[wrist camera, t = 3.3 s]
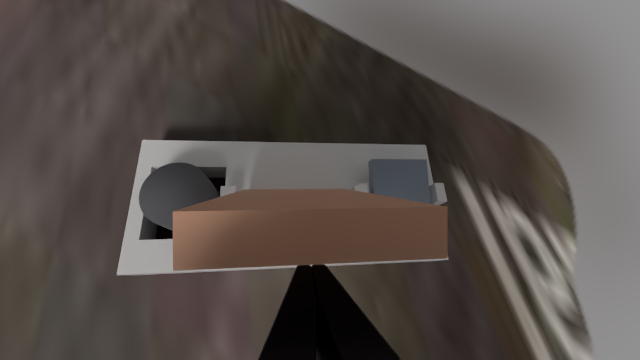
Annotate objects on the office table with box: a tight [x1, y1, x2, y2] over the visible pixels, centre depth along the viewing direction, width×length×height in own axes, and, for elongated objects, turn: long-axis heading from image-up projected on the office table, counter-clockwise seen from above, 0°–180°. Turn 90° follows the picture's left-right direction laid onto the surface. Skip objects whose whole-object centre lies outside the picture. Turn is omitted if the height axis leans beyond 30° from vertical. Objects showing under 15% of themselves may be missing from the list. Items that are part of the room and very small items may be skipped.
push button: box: [139, 162, 220, 231], centre depth 16 cm, size 4×4×3 cm
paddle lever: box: [173, 189, 448, 271], centre depth 11 cm, size 1×6×10 cm, turn 93°
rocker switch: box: [368, 159, 431, 204], centre depth 17 cm, size 4×4×1 cm
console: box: [117, 140, 449, 275], centre depth 17 cm, size 8×19×4 cm, turn 93°
